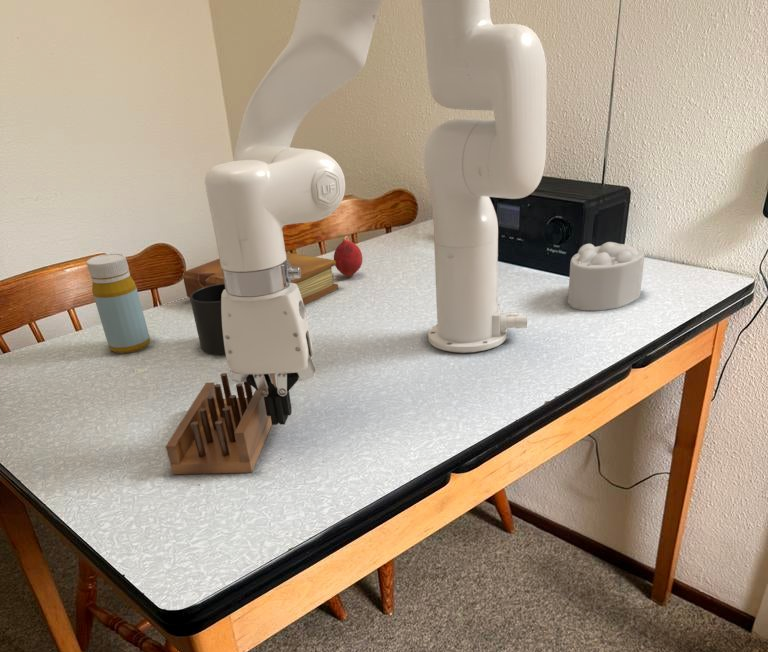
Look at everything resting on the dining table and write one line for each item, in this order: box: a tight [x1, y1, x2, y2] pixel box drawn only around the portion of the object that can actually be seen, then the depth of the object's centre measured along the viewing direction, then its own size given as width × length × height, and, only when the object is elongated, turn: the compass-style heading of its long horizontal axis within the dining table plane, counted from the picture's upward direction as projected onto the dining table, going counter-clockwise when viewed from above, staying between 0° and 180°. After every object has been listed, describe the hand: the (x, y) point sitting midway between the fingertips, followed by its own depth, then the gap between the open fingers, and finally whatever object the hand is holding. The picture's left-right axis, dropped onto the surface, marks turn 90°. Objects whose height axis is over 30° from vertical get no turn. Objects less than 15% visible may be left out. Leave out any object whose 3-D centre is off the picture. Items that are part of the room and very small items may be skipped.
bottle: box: [86, 252, 151, 354], centre depth 126 cm, size 7×7×15 cm
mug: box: [189, 284, 226, 356], centre depth 124 cm, size 9×12×9 cm
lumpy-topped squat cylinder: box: [567, 241, 645, 312], centre depth 129 cm, size 10×13×9 cm
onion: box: [333, 235, 363, 278], centre depth 151 cm, size 6×6×8 cm
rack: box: [165, 372, 277, 475], centre depth 98 cm, size 10×18×6 cm, turn 176°
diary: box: [182, 251, 339, 306], centre depth 146 cm, size 23×19×6 cm
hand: (280, 419), depth 98 cm, fingers closed
